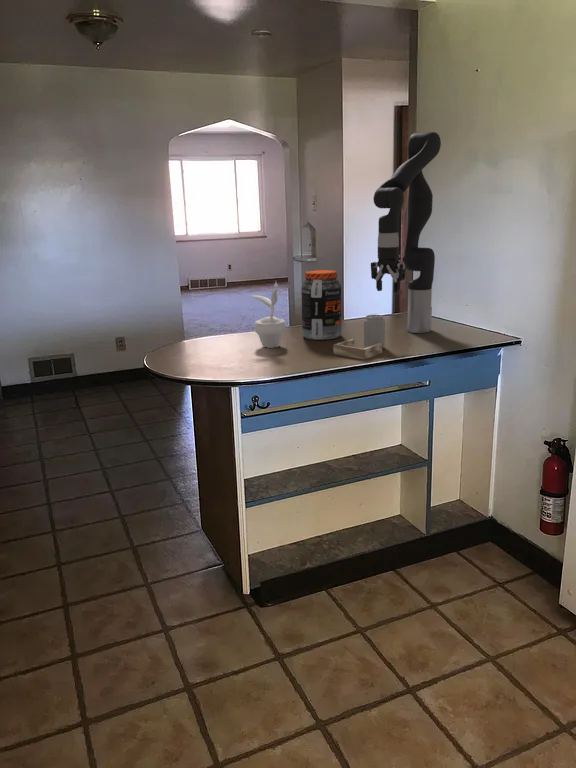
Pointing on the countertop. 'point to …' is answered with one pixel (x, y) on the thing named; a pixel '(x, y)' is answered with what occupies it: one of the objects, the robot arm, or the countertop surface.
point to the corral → (356, 350)
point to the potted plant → (270, 323)
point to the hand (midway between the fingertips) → (387, 291)
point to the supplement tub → (321, 305)
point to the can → (374, 330)
